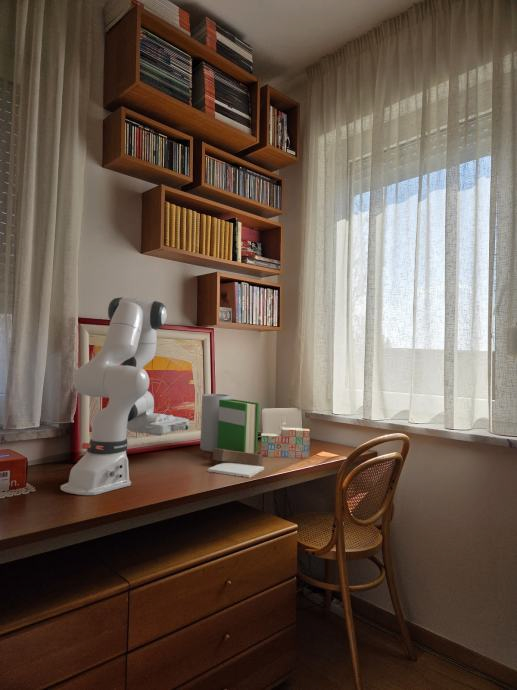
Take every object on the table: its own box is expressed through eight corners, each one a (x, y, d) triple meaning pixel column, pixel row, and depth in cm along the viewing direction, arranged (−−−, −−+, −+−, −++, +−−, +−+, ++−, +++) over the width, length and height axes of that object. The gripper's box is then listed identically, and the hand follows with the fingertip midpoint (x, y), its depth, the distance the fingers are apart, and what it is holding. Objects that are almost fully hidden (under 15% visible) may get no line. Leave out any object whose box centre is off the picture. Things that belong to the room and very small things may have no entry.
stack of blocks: (260, 456, 200) (261, 428, 200) (260, 453, 206) (261, 426, 207) (309, 458, 200) (310, 430, 200) (307, 455, 206) (308, 428, 206)
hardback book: (256, 460, 193) (258, 403, 193) (243, 462, 188) (245, 403, 188) (230, 452, 206) (232, 399, 206) (217, 454, 201) (219, 399, 201)
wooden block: (211, 459, 180) (254, 465, 174) (213, 447, 181) (256, 453, 175) (220, 460, 188) (261, 466, 182) (221, 449, 189) (263, 454, 184)
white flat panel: (249, 477, 165) (249, 474, 165) (207, 471, 171) (207, 468, 171) (264, 469, 177) (264, 466, 177) (224, 463, 184) (224, 461, 184)
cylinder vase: (226, 452, 205) (228, 396, 205) (198, 451, 205) (200, 395, 205) (228, 447, 217) (230, 394, 218) (201, 446, 217) (203, 393, 218)
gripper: (142, 419, 180) (172, 423, 174) (172, 414, 198) (199, 416, 193) (141, 435, 179) (171, 439, 174) (171, 428, 198) (199, 431, 193)
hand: (186, 427), depth 184 cm, fingers closed
